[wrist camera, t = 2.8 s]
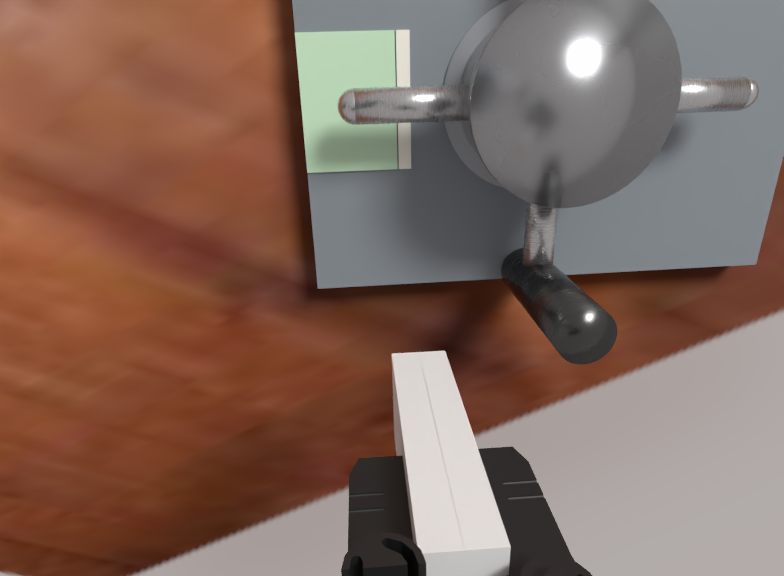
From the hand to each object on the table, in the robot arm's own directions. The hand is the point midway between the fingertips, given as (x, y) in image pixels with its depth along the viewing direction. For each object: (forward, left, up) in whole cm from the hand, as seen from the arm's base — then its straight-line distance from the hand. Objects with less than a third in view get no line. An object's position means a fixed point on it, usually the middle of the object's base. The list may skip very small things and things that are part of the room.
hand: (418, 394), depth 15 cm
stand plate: (+7, +6, -10) cm, 13 cm away
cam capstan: (+6, +7, -8) cm, 13 cm away
